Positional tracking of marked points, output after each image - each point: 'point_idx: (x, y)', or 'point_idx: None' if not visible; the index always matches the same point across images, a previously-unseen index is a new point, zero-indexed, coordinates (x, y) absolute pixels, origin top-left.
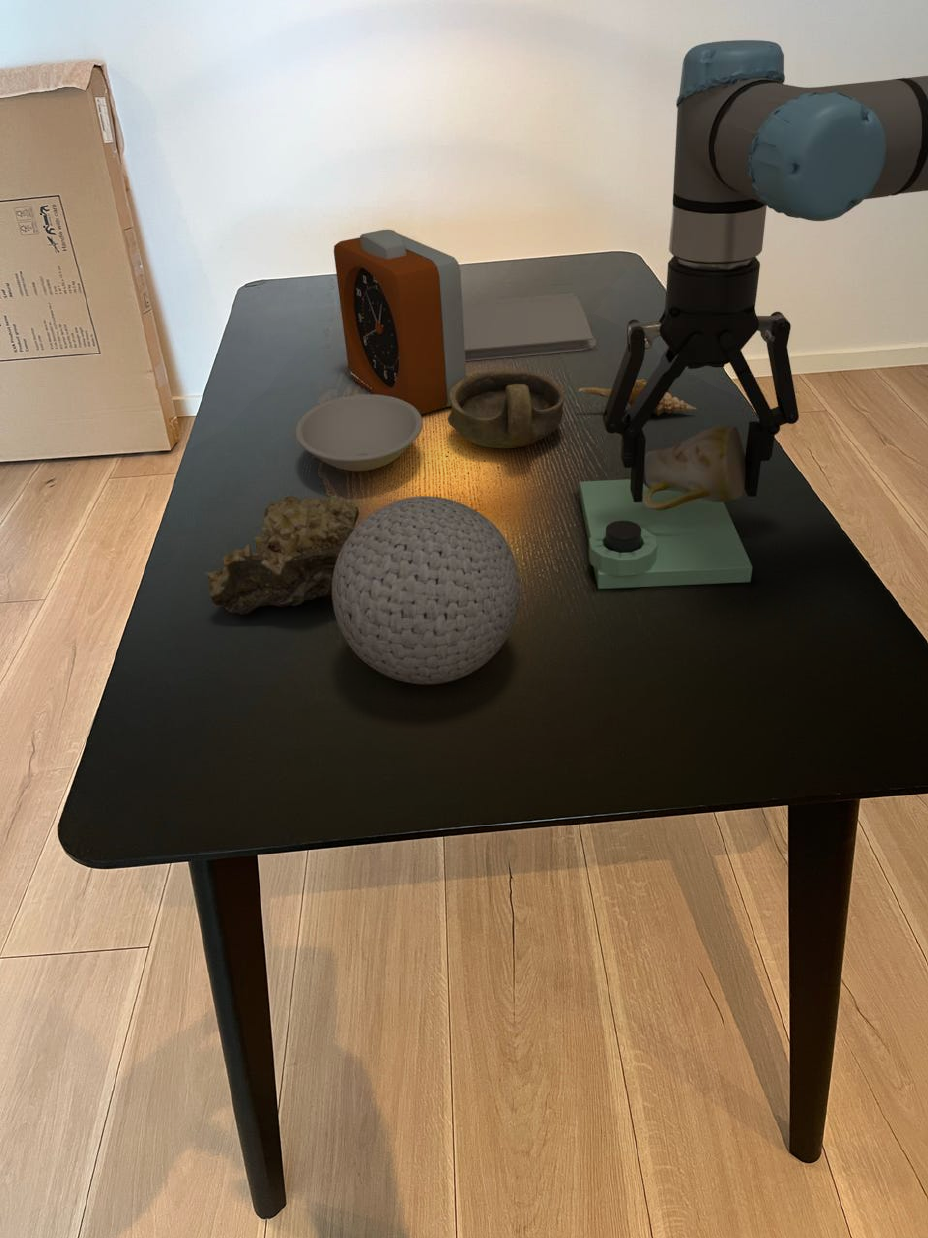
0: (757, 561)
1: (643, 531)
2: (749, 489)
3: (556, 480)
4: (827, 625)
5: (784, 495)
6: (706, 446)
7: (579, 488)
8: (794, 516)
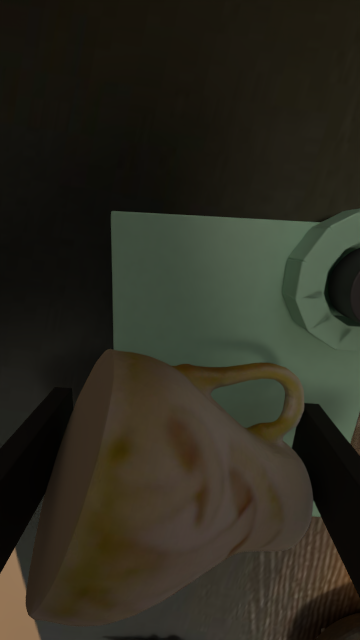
0: (93, 279)
1: (312, 318)
2: (63, 398)
3: None
4: (9, 42)
5: None
6: (169, 511)
7: None
8: (12, 396)
